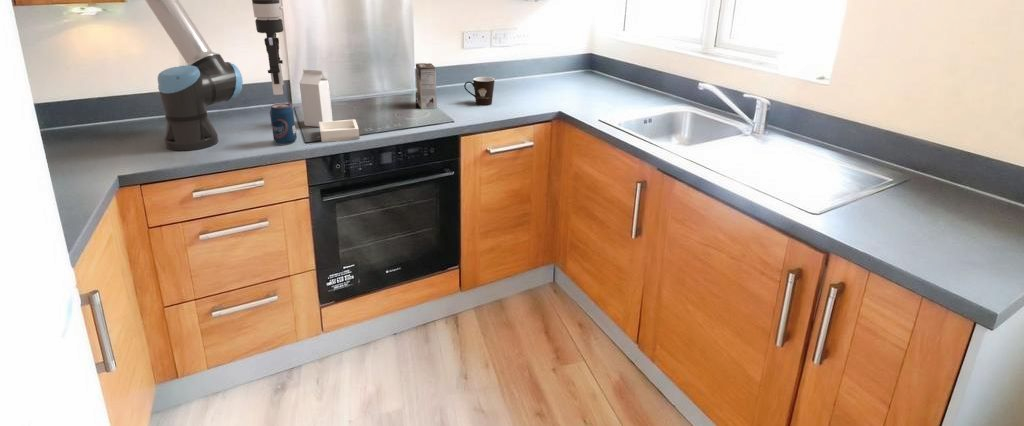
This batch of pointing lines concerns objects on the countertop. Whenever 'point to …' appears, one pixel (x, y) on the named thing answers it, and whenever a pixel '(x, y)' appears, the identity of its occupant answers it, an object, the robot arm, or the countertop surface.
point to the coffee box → (426, 85)
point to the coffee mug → (482, 90)
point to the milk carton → (315, 98)
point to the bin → (339, 130)
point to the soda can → (283, 124)
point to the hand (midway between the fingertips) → (278, 89)
